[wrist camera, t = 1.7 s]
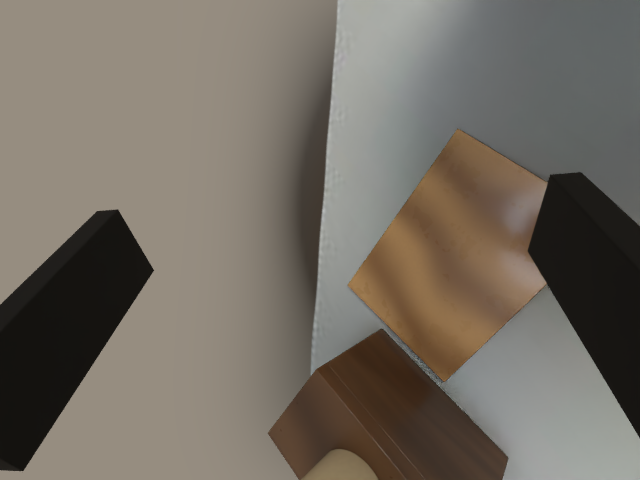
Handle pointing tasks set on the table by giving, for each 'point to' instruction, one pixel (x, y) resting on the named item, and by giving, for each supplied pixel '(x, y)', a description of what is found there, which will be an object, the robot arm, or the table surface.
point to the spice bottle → (341, 467)
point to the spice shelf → (384, 420)
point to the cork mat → (456, 255)
